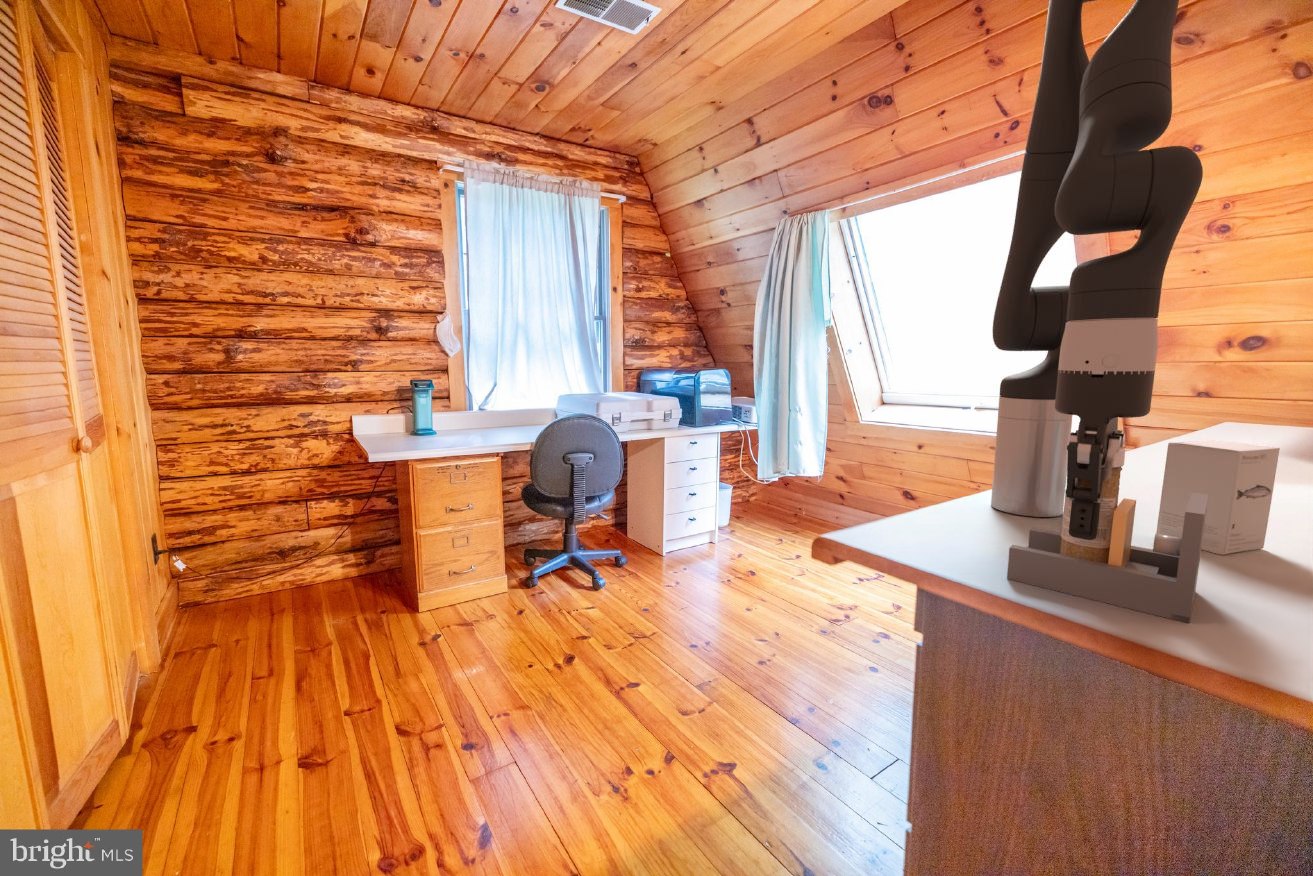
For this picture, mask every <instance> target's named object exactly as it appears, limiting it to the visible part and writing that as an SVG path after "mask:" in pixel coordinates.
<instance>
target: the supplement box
mask: <svg viewBox="0 0 1313 876" xmlns="http://www.w3.org/2000/svg"><path fill="white" fill-rule="evenodd" d="M1166 449H1167V451H1166V457H1165V458H1166V460H1165V464H1164V465H1165V466H1164V472H1163V473H1164V474H1163V479H1162V480H1163V481H1162V487H1161V495H1160V502H1159V510H1158V517H1157V525H1156V526H1157V527H1156V532H1155V534H1161V535H1167V536H1174V537H1180V538H1182V533H1183V525H1184V518H1185V511H1186V508H1187V505H1188V502H1189V500H1190V497H1191V494H1192V493H1200V494H1208V495H1209V497H1208V504H1207V512H1206V519H1205V526H1204V533H1203V541H1202V548H1201V551H1206V552H1210V553H1213V554H1217V555H1221V556H1225V555H1228V554H1232V553H1233V554H1234V553H1239V552H1246V551H1251V550H1253V551H1254V550H1262V549H1264V546H1265V540H1266V535H1267V529H1268V523H1269V517H1270V512H1271V507H1272V506H1271V505H1272V499H1273V494H1274V493H1273V492H1274V487H1275V480H1276V472H1277V467H1278V463H1279V462H1278V461H1279V456H1280V450H1281V449H1280V447H1276V446H1268V445H1260V444H1259V445H1258V444H1249V443H1239V442H1231V441H1223V440H1213V439H1211V440H1210V439H1204V440H1201V439H1200V440H1189V441H1185V440H1184V441H1172V442H1168V444H1167V448H1166Z"/></svg>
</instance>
